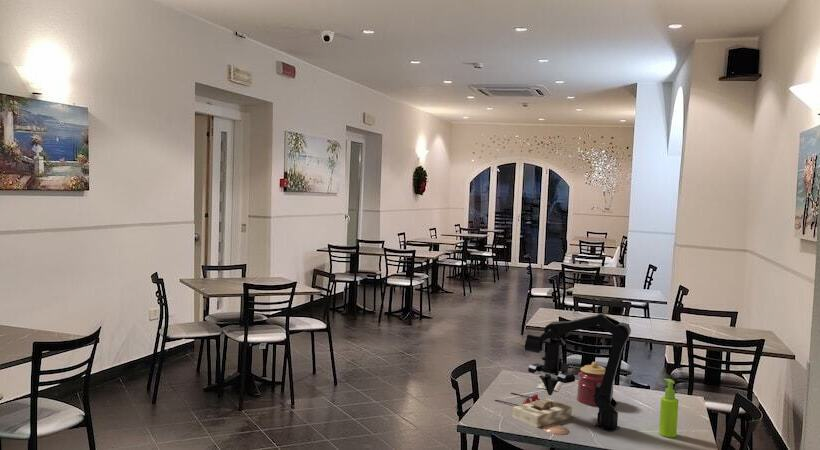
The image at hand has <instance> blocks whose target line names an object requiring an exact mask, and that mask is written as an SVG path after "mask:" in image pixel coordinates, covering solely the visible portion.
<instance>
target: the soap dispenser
mask: <svg viewBox="0 0 820 450" xmlns="http://www.w3.org/2000/svg"><path fill="white" fill-rule="evenodd" d="M663 380H664V381H666V382H667V387H666V388H665V389H664V396H661V398H660V408H659V409H660V413H659V428H658V429H659V430H658V431H659V432H658V434H659V435H660V436H662V437H666V438H677V430H678V418H679V417H678V414H679V413H678V412H679V399H678V398H676V390H675V389H674V384H675V385H676V381H674V379H672V378H663Z"/></svg>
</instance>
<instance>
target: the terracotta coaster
mask: <svg viewBox="0 0 820 450" xmlns="http://www.w3.org/2000/svg"><path fill="white" fill-rule="evenodd" d="M542 429H543V430H544V432H546V433H548V434H552V435H559V436H563V435H568V433H569V429H568V428H567V427H566V426H563V425H559V424H554V423H551V424H547V425H544V426H542Z"/></svg>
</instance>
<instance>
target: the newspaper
mask: <svg viewBox="0 0 820 450" xmlns="http://www.w3.org/2000/svg"><path fill="white" fill-rule="evenodd" d="M562 385H563V383H562V382H559V381H558V383H557V384H556V386H555V388H554V391H555V392H559V390H560V388H561V386H562ZM535 388H536V389H542V390H546V388H545V385H544V383H543V381H542V382H541V383H538V384H537V386H536V387H535Z"/></svg>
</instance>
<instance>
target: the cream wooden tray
mask: <svg viewBox="0 0 820 450" xmlns="http://www.w3.org/2000/svg"><path fill="white" fill-rule="evenodd" d="M540 401H542V402H545V403H546V404H547V405H548V406H549V409H546V410H542V411H539V410H537V409H536V408H535V406H534V405H533V404H534V403H535V402H532V401H530V402H531V403H527V404H524V403H522V404H518V405H519V406H516V405H514V406H513V407H512V418H514V419H516V420H518V421H521V422H523V423H525V424H528V425H530V426H531V427H535V428H539V427H543V426H545V425H550V424H555V423H558V422H561V421H564V420H569V419H572V409H573V408H572V406H571V405H568V404H565V403H563V402H558V401H556V400H553V399H550V398H544V399H540Z"/></svg>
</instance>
